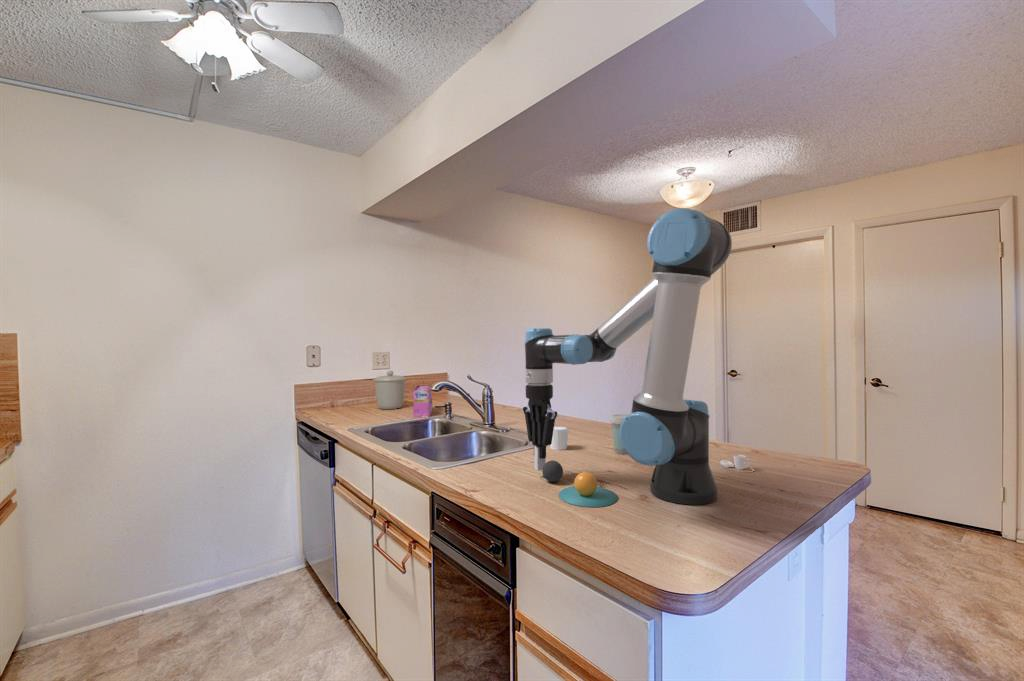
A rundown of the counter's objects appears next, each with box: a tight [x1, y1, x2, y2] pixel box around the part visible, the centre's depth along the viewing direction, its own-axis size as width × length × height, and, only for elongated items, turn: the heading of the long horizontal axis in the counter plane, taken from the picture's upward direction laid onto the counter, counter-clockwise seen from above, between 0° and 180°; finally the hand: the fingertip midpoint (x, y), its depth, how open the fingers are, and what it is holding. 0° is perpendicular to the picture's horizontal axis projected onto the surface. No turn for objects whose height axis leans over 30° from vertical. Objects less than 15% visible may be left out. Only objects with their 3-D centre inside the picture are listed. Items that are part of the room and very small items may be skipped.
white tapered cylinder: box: [549, 425, 569, 451], centre depth 152 cm, size 7×7×7 cm
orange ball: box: [573, 471, 598, 496], centre depth 106 cm, size 6×6×6 cm
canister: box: [372, 370, 407, 410], centre depth 245 cm, size 18×18×21 cm
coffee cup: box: [610, 413, 629, 455], centre depth 145 cm, size 8×8×12 cm
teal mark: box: [558, 486, 619, 508], centre depth 105 cm, size 14×14×1 cm
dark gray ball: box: [541, 459, 564, 483], centre depth 116 cm, size 6×6×6 cm
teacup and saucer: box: [719, 454, 751, 470], centre depth 127 cm, size 9×8×4 cm
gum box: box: [412, 384, 433, 418], centre depth 227 cm, size 24×8×14 cm, turn 6°
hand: (540, 469), depth 121 cm, fingers closed
